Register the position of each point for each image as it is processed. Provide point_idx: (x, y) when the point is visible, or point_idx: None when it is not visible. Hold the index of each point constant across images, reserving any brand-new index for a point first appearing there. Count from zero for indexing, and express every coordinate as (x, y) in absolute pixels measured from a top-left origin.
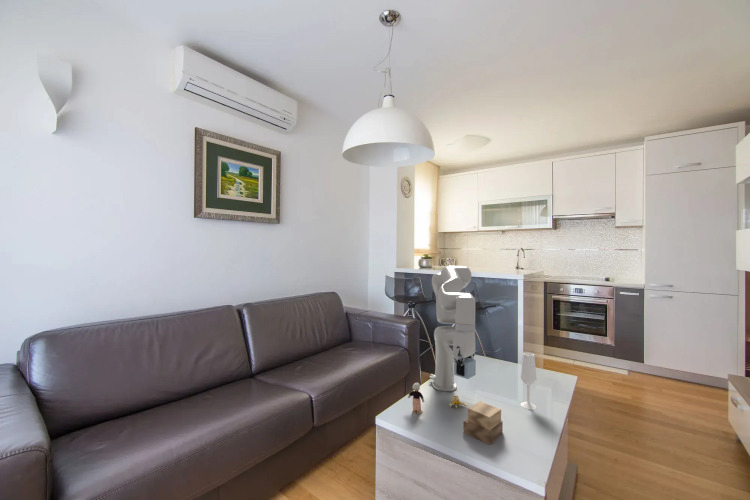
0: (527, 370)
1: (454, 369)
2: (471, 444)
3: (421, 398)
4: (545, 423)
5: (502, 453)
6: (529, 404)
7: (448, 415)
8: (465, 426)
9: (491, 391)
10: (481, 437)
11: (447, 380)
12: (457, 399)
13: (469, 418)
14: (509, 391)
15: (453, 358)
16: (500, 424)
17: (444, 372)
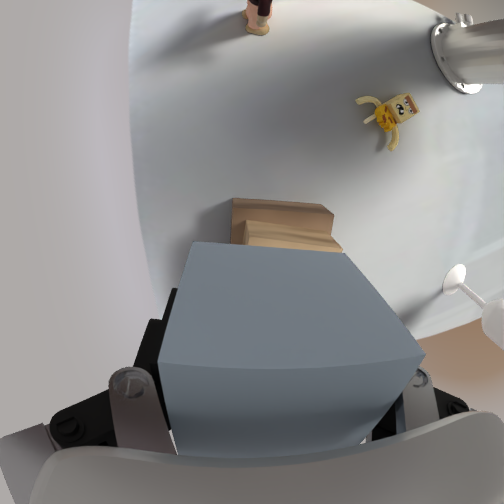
0: (502, 338)
1: (185, 272)
2: (193, 240)
3: (257, 13)
4: None
5: None
6: (453, 287)
7: (307, 111)
8: (232, 211)
9: (488, 186)
10: None
11: (467, 65)
12: (398, 116)
13: (245, 229)
14: (497, 224)
15: (3, 437)
16: None
17: (481, 53)
